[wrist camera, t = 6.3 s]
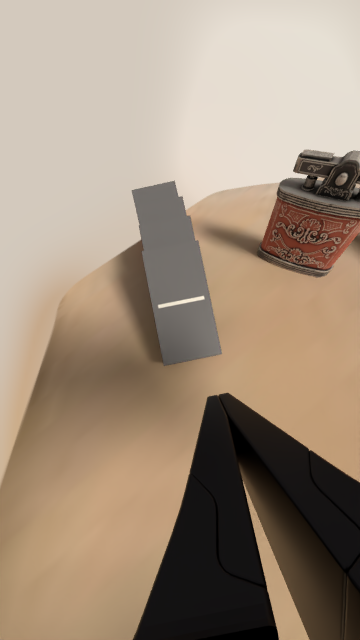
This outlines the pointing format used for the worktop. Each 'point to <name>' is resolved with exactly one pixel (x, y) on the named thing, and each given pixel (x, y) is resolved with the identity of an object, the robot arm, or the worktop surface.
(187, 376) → the worktop surface
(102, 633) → the worktop surface
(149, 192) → the domino
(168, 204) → the domino
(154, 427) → the worktop surface
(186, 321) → the domino
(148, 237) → the domino
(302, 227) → the lighter
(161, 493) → the worktop surface
